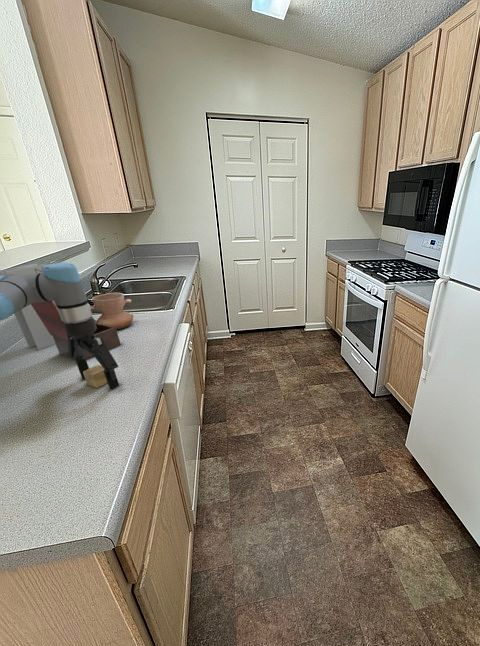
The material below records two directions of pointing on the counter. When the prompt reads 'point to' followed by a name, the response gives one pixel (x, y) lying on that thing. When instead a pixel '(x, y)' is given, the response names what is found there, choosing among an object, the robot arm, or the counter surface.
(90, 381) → the block
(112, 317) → the ceramic jug
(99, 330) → the book box
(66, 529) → the counter surface
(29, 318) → the white lettered carton
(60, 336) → the cover
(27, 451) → the counter surface
